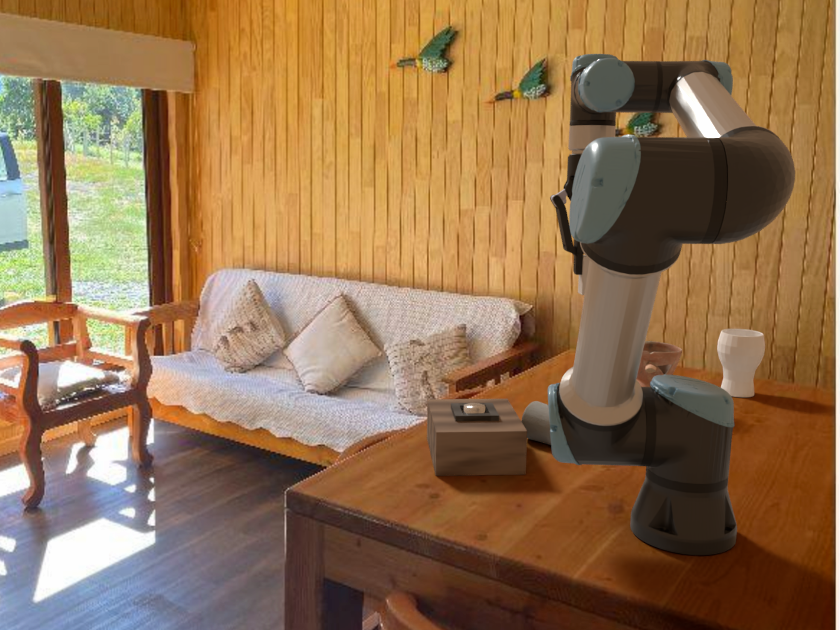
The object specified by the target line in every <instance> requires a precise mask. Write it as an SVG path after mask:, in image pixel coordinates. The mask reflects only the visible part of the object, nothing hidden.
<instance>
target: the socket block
mask: <svg viewBox="0 0 840 630" xmlns="http://www.w3.org/2000/svg"><path fill="white" fill-rule="evenodd" d="M426 403H427V405H426V406H427V407H426V408H427V409H426V410H427V411H426V413H427V414H426V440H427V444H428V445H427V446H428V449H429V453H430V456H431V461H432V467H433V470H434V475H435V477H437V476H439V477H440V476H441V477H443V476H445V477H446V476H454V477H455V476H502V475H505V476H506V475H509V476H510V475H519V476H520V475H526V474H527V473H526V471H527V444H528V438H527V430H526V428H525V427H524V425H523V423H522V422H521V420H522V419H521V418H520V417H519V415H518V414H517V412H516V410H515V408H514V407H513V405H512V404H511V402H510V400H509V399H508V398H455V399H453V398H447V399H446V398H445V399H443V398H441V399H440V398H439V399H438V398H437V399H435V398H434V399H430V398H429V399H428V398H427V401H426ZM467 403H480V404H483V405H485V413H464V405H465V404H467Z"/></svg>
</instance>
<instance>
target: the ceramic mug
mask: <svg viewBox="0 0 840 630" xmlns="http://www.w3.org/2000/svg"><path fill="white" fill-rule="evenodd" d="M520 420H521V422H522V423H523V425H524V427H525V428H526V430H527V440H528V439H529V440H531V441H534V442H538V443H543V444H546V445H548V446H551V437H550V421H549V407H548V403H544V402H542V401H538V400H535V401H531V402H530V403H529V404H528V405H527V406H526V407H525V409H524V411H523V412H522V416H521V419H520Z"/></svg>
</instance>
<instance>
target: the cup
mask: <svg viewBox="0 0 840 630" xmlns="http://www.w3.org/2000/svg"><path fill="white" fill-rule="evenodd" d="M716 348H717V349H716V350H717V354H718V359H719V361H720V363H721V366H722V373H723V376H722V377H723V378H722V381H721V384H720V385H721V386H720V387H721V388H722V389H724V390H725V391H727V392H728V393H729V394H730V395H731V397H732V398H733V397H735V398H751V397H754V396H755V384H754V378H755V373H756V370H757V369H758V367H759V365H760V364H761V363H762V360H763V359H764V356H765V353H766V352H765V351H766V350H765V349H766V340H765V335H764V333H763V332H760V331H758V330H753V329H745V328H725V329H721V331H720V333H719V336H718V340H717V347H716Z"/></svg>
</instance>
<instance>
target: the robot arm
mask: <svg viewBox="0 0 840 630" xmlns="http://www.w3.org/2000/svg"><path fill="white" fill-rule="evenodd" d="M569 77H570V80H569V81H570V84H571V85H570V111H569V131H568V147H567V148H568V151H571V154H570V153H569V155H568V156H567V165H566V166H567V169H566V180H565V183H564V185H563V189H562V190H560V191H559V192H557V193H556V194H551V195H550V197H549V199H550V202H551V204H552V205H553V207H554V208H555V213H556V217H557V222H558V228H559V232H560V233H559V234H560V239H561V243H562V248H563V250H564V251H566V252H568V253H570V254H572V255H573V267H572V268H573V274H574V275H576V276H578V281H577V282H578V283H577V284H578V286H577V293H578V294H579V295H581V296H583V303H582V308H581V315H580V323H579V327H578V328H579V329H578V335H577V342H576V349H575V355H574V362H573V366H572V367H570V368H569V369H567V370H566V372H565V373H564V374H563V376H562V377H561V380H560V382H555V383H551V384H549V385H548V387H547V405H548V407H549V421H550V437H551V445H550V446H551V447H550V448H551V454H552V457H553V458H554V459H555V460H556V461H557V462H559V463H563V464H564V463H566V464H573V465H574V464H575V465H576V466H582V465H588V466H589V465H591V466H592V465H593V466H594V465H595V466H596V465H597V466H627V467H629V466H630V467H637V466H638V467H645V476H644V477H645V478H644V480H643V483H642V485H641V487H640V489H639V492H638V495H637V497H636V499H635V501H634V503H633V506H632V509H631V511H630V525H629V526H630V530H631V532H632V534H633V535H634V536H636V537H637V538H638V539H639V540H641V541H642V542H645V543H646V544H647V545H651V546H652V547H655V548H658V549H660V550H664V551H665V552H670V553H675V554H682V555H689V556H708V555H709V556H710V555H715V554H721V553H724V552H727V551H729V550H731V549H732V548H733V547H735V545H736V542H737V533H738V524H737V521H736V516H735V513H734V509H733V506H732V501H731V498H730V497H731V496H730V494H729V487H728V486H729V477H730V476H729V474H730V464H731V451H732V439H733V432H734V431H733V429H734V427H735V419H734V418H735V417H734V416H735V415H734V414H735V409H734V407H735V406H734V405H735V403H734V400H733V396H731V395H730V394H729V393H728V392H727V391H725V390H724V389H722V388H721V386H718V385H716V384H714V383H711V382H708V381H705V380H701V379H698V378H694V377H689V376H683V375H677V374H673V375H657V376H654V377H653V379H652V381H651V382H650V387H641V386H640V384H639V382H638V381H637V379H636V378H637V374H638V369H639V365H640V361H641V357H642V353H643V348H644V344H645V341H647V340H646V339H647V335H648V331H649V327H650V322H651V318H652V315H653V314H652V313H653V309H654V307H655V301H656V297H657V293H658V288H659V285H660V280H661V276H662V273H663V272H664V271H668V270H669V269H670V268H671V267H673V266H674V265H675V263H676V262H677V261H678V259H679V258H680V255H681V252H682V248H683V245H723V244H730V243H735V242H739V241H742V240H744V239H747V238H749V237H751V236H754V235H756V234H757V233H760V232H761V231H762V230H764V229H765V228H766V227H767V226H769V225H770V224H771V223H773V222H774V221H775V220H776V218H777V217H778V216H779V215H780V214H781V213H782V212H783V210H784V209H785V208H786V206H787V204H788V203H789V200H790V199H791V196H792V193H793V190H794V188H795V182H796V168H795V162H794V159H793V156H792V153H791V152H790V150H789V148H788V147H787V145H786V144H785V143H784V142H783V140H782V139H781V138H780V137H779V136H778V135H777V134H776V133H774V132H773V131H772V130H770V129H768V128H766V127H764V126H760V125H756V124H755V121H753V120H752V119H751V117H749V115H748V114H747V113H746V111H744V109H743V108H742V107H741V105H739V103H738V102H737V101H736V100H735V98H734V97H733V95H732V94H733V89H734V88H733V87H734V84H733V83H734V76H733V74H732V67H731V66H730V65H729V64H728V63H726V62H724V61H715V60H714V61H713V60H708V59H703V60H669V61H668V60H667V61H666V60H664V61H663V60H659V61H657V60H621V59H618V57H617V56H616V55H613V54H609V53H608V54H607V53H586V54H582V55H580V54H579V55H578V56H577V55H576V56H575V58H574V59H573V60H572V65H571V75H570V76H569ZM617 113H626V114H627V113H628V114H629V113H638V114H639V113H647V114H649V113H651V114H657V113H658V114H673V116H674V118H675V119H676V121H677V122H678V125H679V126H680V128H681V129H682V131H683V133H684V137H681V136H680V137H679V136H678V137H676V136H672V137H671V136H663V137H662V136H661V137H660V136H657V137H656V136H655V137H654V136H651V137H647V136H645V137H644V136H643V137H642V136H639V137H638V136H636V135H634V134H624V135H622V136H616V126H617V125H616V124H617V122H616V119H617ZM685 136H686V137H685ZM567 198H568V200H569V201H570V204H569V216H568V212H567V208H566V203H567ZM568 217H569V218H568Z"/></svg>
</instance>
